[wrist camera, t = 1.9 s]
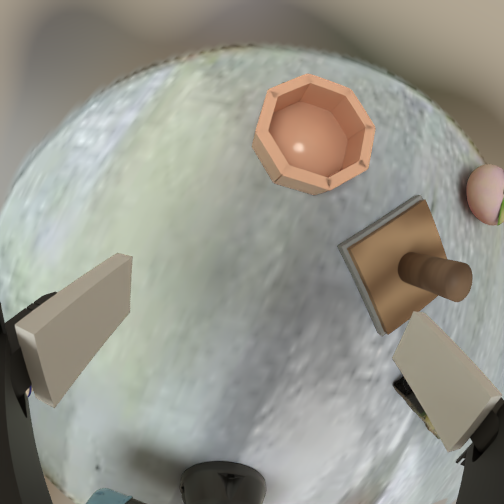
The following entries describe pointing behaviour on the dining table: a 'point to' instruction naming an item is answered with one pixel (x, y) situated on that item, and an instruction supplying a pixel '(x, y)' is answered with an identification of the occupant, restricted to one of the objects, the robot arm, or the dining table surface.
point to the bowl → (313, 135)
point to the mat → (351, 266)
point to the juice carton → (414, 404)
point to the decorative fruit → (487, 194)
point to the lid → (407, 267)
